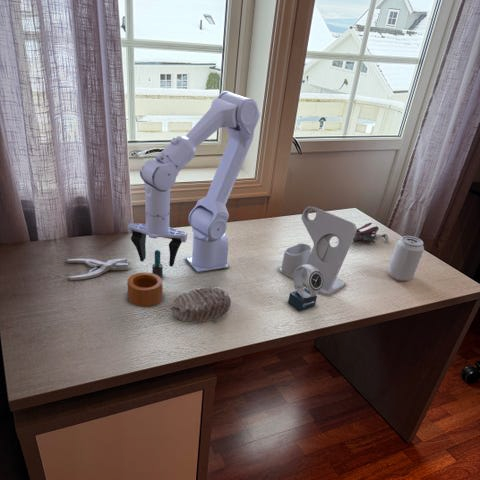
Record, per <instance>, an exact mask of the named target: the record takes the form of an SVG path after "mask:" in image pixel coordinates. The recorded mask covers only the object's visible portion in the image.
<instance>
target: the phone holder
mask: <svg viewBox="0 0 480 480" xmlns="http://www.w3.org/2000/svg"><path fill="white" fill-rule="evenodd" d="M311 211H314V212H315V217H314V218H313V219H310V218H309V213H311ZM301 221H302V223H303V225H304V227H305V228H306V231H307V232H308V234H309V236H310V238H311V240H312V242H313V247H311V245H309V244H307V243H297V244H294V245H293V246H290V247H288V248H286V249H285V250H284V251H283V258H282V263H281V267H280V268H279V273H281V274H283V275H285V276H287V277H289V278H290V279H293V275H294V271H295V269H296V268H297V267H299V266H302V265H305V264H310V265H312V266H314V267H315V268H317V270H318V271H319V272H320V273H321V274H322V276H323V278H324V279H323V286H322V288H321V290H320V291H319V293H318V294H321V295H323V296H330V295H331V294H334V293H335V292H336V291H338V290H341V288H343V287H344V286H345V281H344V280H342V279H340V278H338V275H339V273H340V271H341V269H342V265H343V263H344V261H345V259H346V257H347V255H348V252H349V250H350V248H351V245H352V243H353V239H354V236H355V234H356V231H357V229H358V228H357V225H356V224H355V223H354V222H352V221H350V220H347V219H346V218H345V219H344V218H342V217H340V216H338V215H335V214H332V213H330V212H328V211H326V210H324V209H323V210H322V209H320V208H317V207H315V206H312V205H310V206H307V207H306V208H304V210H303V211H302V214H301ZM332 238H337V239H338V244H337V245H336V246H332V245H331V243H330V242H331V240H332ZM306 271H307V270H306V269H305V268H302V269H301V275H302V283H303V286H306V287H307V285H306V277H307V274H306Z"/></svg>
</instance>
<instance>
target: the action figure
mask: <svg viewBox="0 0 480 480" xmlns="http://www.w3.org/2000/svg"><path fill="white" fill-rule="evenodd" d="M372 224H373V222H368V223H366V224H364V225H362V226H361V227H358V228H357V231H356V234H355V236H354V239H353V241H352V243H356V242H363V243H365V244H368V243H369V244H370V243H372V244H375V243H377V241H375V240H378V239H381V238H383V239H384V240H385V241H386V243H388V242H389V241H390V240H389V236H388V233H383V234H378V232H379V230H380V228H379V226H378V225H377V226H375V225H374V226H373V227H370V226H371V225H372ZM367 227H370V228H368V229H367ZM363 229H365V230H363Z"/></svg>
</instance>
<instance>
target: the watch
mask: <svg viewBox="0 0 480 480" xmlns="http://www.w3.org/2000/svg"><path fill="white" fill-rule="evenodd" d="M302 268H305V269H306V270H307V271H306V274H307V277H306V285H307V286H306V285H305V286H306V287H304V284H303V283H302V275H301V269H302ZM323 279H324V278H323V276H322V274H321V273H320V272H319V271H318V270H317V268H315V267H314V266H312V265H310V264H305V265H302V266H299V267H297V268H296V269H295V271H294V275H293V285H294V286H293V287H294V289H295V291H292V292H289V295H288V300H287V304H288V305H289V306H290V307H292V308H293V309H295V310H296V311H297V312H298V313H301V312H303V311H306V310H308V309H311V308H314V307H315V306H316V303H317V299H318V294H320V293H319V291H320V290H321V288H322V286H323Z"/></svg>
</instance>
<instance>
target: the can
mask: <svg viewBox="0 0 480 480" xmlns="http://www.w3.org/2000/svg"><path fill="white" fill-rule="evenodd" d="M424 245H425V244H424V241H423V240H422V239H421V238H418V237H416V236H414V235H403V236H401V238H400V239H399V240H397V242H396V244H395V248H394V251H393V254H392V256H391V259H390V262H389V266H388V268H387V274H388V275H389V276H390V277H391V279H394V280H395V281H397V282H408V281H411V280H413V278H414V276H415V275H416V271H417V268H418V266H419V263H420V261H421V258H422V256H423V252H424V251H425V246H424Z"/></svg>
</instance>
